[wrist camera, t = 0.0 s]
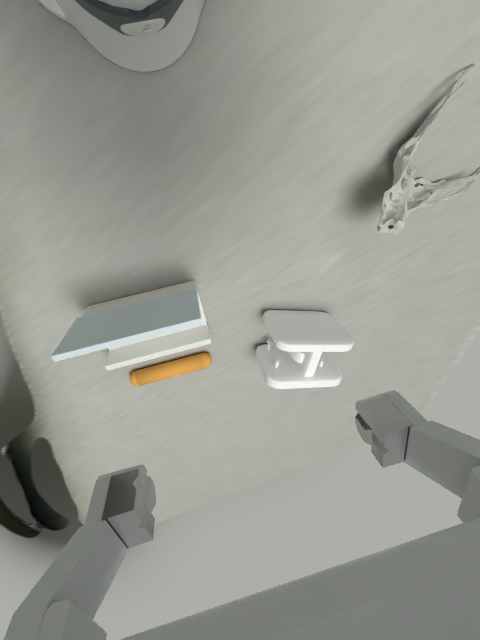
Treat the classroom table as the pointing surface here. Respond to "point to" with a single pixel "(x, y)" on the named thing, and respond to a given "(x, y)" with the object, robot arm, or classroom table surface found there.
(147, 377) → the rod
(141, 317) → the cover
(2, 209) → the classroom table surface
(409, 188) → the skeletal model
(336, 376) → the cable organizer
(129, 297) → the duct
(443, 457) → the robot arm
